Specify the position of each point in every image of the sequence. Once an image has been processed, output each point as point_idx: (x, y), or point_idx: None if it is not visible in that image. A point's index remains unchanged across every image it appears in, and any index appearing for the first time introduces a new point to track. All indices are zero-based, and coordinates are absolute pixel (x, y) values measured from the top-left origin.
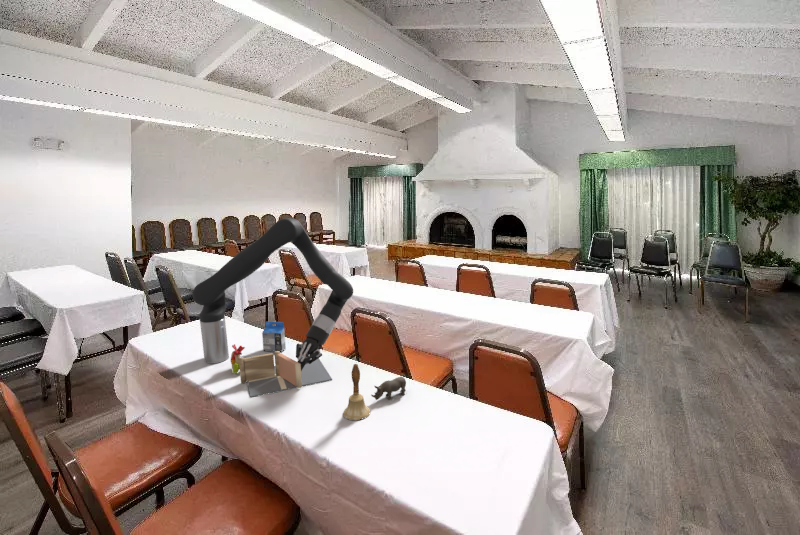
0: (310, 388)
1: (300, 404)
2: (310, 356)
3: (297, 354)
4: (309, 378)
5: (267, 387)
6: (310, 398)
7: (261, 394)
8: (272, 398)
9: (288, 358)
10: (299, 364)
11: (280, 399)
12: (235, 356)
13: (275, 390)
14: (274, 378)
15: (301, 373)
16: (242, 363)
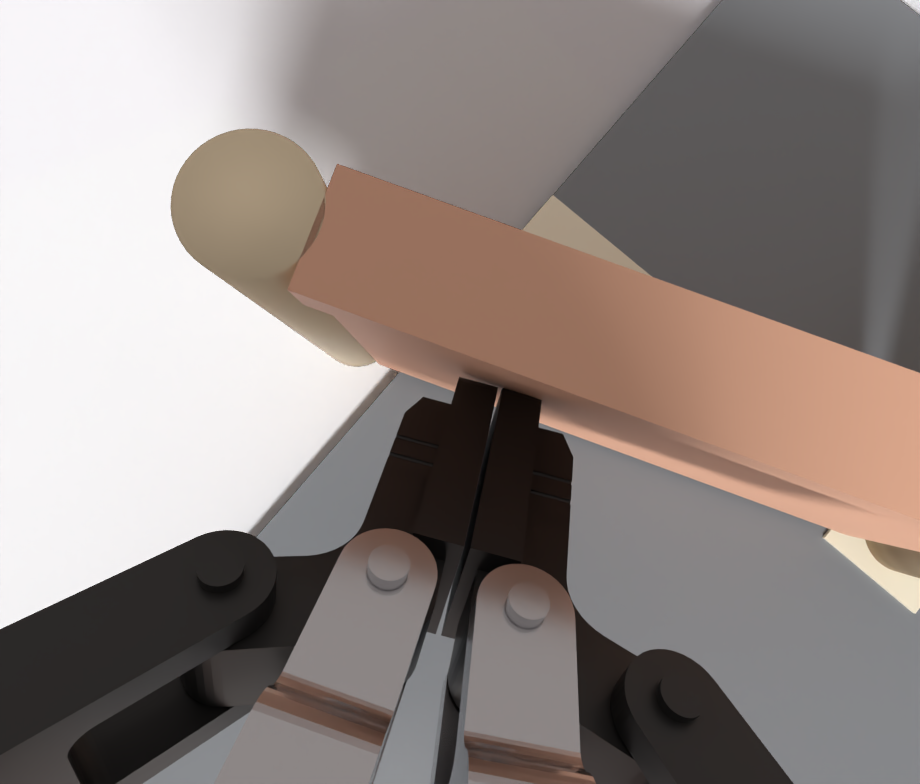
0: (232, 406)
1: (106, 33)
2: (16, 678)
3: (703, 758)
4: None
5: (771, 171)
6: (75, 192)
7: (710, 16)
8: (521, 13)
9: (786, 420)
10: (186, 204)
11: (412, 32)
12: None
13: (612, 150)
14: None
15: None
16: None
